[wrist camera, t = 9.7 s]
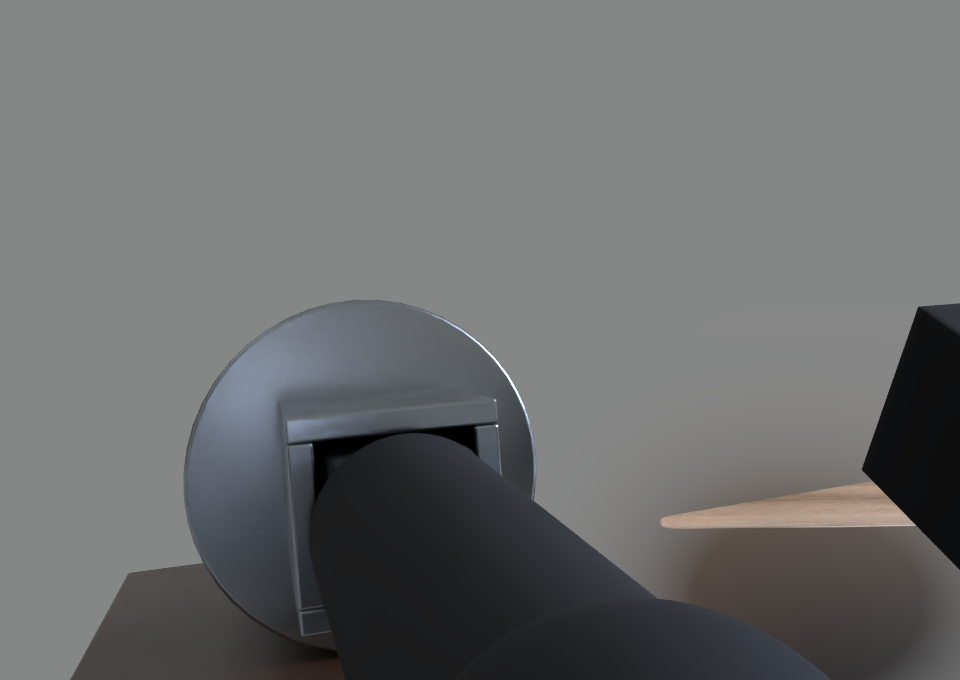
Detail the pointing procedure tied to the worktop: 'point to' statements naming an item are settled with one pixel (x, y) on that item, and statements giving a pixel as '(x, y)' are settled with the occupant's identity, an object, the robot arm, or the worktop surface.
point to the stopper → (494, 581)
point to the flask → (330, 416)
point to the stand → (192, 636)
